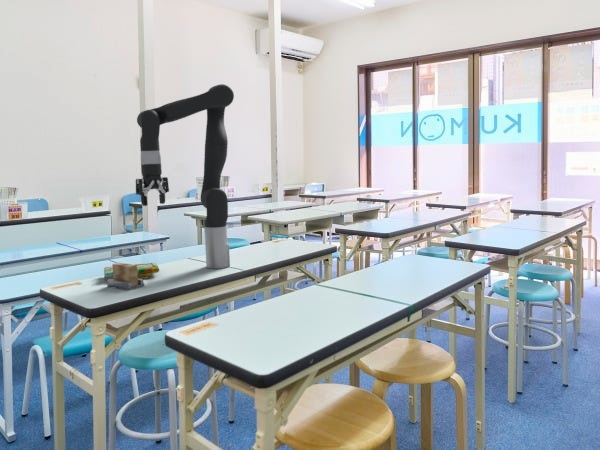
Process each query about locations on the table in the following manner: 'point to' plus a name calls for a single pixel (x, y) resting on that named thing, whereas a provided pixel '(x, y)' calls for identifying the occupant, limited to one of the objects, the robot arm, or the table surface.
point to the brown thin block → (125, 273)
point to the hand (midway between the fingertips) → (153, 204)
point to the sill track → (124, 284)
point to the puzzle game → (142, 270)
